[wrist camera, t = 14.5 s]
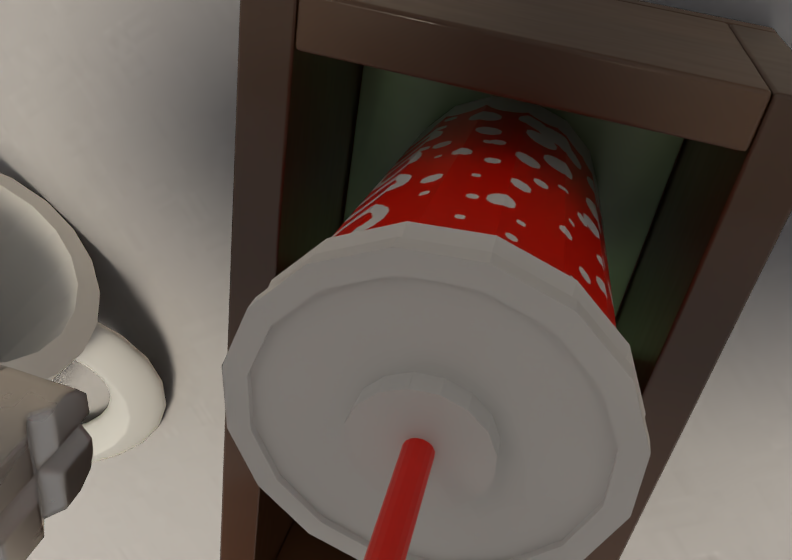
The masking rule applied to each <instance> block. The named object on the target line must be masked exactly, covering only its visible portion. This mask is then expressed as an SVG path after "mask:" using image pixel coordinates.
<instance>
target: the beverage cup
mask: <svg viewBox="0 0 792 560" xmlns="http://www.w3.org/2000/svg"><path fill="white" fill-rule="evenodd" d="M222 374H223V386H224V398H225V410H226V422H227V429H228V431H229V432H230V434H231V436H232V438H233V440H234V442H235V444H236V445H237V447H238V449H239V451H240V453H241V455H242V457H243V458H244V460H245V462H246V464H247V466H248V468H249V470H250V471H251V473H252V475H253V477H254V479H255V481H256V483H257V484H258V486H259V487H260V488H261V489H262V490H263V491H264V492H265V493H267V494H268V495H269V496H270V497H271V498H272V499H273V500H274V501H275V502H276V503H277V504H278V505H279V506H280V507H281V508H282V509H283V510H285V511H286V512H287V513H288V514H289V515H290V516H291V517H292V518H293V519H294V520H295V521H296V522H297V523H298V524H299V525H300V526H301V527H302V528H304V529H305V530H306V531H307V532H308V533H309V534H311V535H313V536H314V537H316V538H318V539H320V540H322V541H324V542H326V543H328V544H329V545H331V546H333V547H335V548H337V549H339V550H341V551H342V552H344V553H346V554H348V555H350V556H352V557H354V558H356V559H357V560H584V559H585V558H586V557H587V556H588V555H590V554H591V553H592V552H593V551H594V550H595V549H596V548H597V547H598V546H599V545H600V544H601V543H603V542H604V541H605V540H606V539H607V538H608V537H609V536H610V535H611V534H612V533H613V532H615V531H616V530H617V529H618V528H619V527H620V526H621V525H622V524H623V523H624V522H625V521H627V520H628V519H629V518H630V517H631V514H632V511H633V508H634V504H635V501H636V498H637V495H638V492H639V489H640V486H641V483H642V479H643V476H644V473H645V470H646V467H647V464H648V461H649V458H650V455H651V450H650V438H649V434H648V430H647V426H646V421H645V415H646V413H645V409H644V405H643V400H642V396H641V392H640V387H639V383H638V379H637V375H636V370H635V366H634V362H633V357H632V353H631V349H630V345H629V343H628V342H627V341H626V340H625V339H624V337H623V336H622V335H621V334H620V332H619V331H618V330H617V329H616V322H615V315H614V307H613V299H612V292H611V284H610V277H609V269H608V261H607V254H606V246H605V239H604V231H603V223H602V216H601V208H600V201H599V193H598V186H597V182H596V177H595V173H594V168H593V164H592V160H591V155H590V151H589V150H588V149H587V147H586V146H585V145H584V143H583V142H582V141H581V139H580V138H579V137H578V135H577V134H576V133H575V131H574V130H573V129H572V128H571V126H570V125H569V124H568V122H567V121H566V120H564V119H562V118H561V117H559V116H557V115H555V114H554V113H552V112H550V111H548V110H546V109H545V108H543V107H541V106H539V105H536V104H531V103H527V102H522V101H518V100H514V99H509V98H503V97H495V96H491V97H487V98H484V99H480V100H476V101H473V102H469V103H465V104H461V105H458V106H455V107H453V108H452V109H451V110H450V111H448V112H447V113H446V114H444V115H443V116H442V117H441V118H439V119H438V120H437V121H435V122H434V123H433V124H432V125H430V126H429V127H428V128H427V129H426V130H425V131H424V132H423V133H422V134H421V135H420V136H419V138H418V139H417V140H416V141H415V142H414V143H413V144H412V146H411V147H410V148H409V149H408V150H407V151H406V152H405V154H404V155H403V156H402V157H401V158H400V159H399V160H398V162H397V163H396V164H395V165H394V166H393V167H392V168H391V170H390V171H389V172H388V173H387V174H386V175H385V176H384V178H383V179H382V180H381V181H380V182H379V183H378V184H377V186H376V187H375V188H374V189H373V190H372V191H371V192H370V194H369V195H368V196H367V197H366V198H365V199H364V200H363V202H362V203H361V204H360V205H359V206H358V207H357V208H356V210H355V211H354V212H353V213H352V214H351V215H350V216H349V218H348V219H347V220H346V221H345V222H344V223H343V224H342V226H341V227H340V228H339V229H338V230H337V231H336V232H335V234H334V235H333V236H332V237H331V238H327V239H325V240H324V241H323V242H321V243H320V244H319V245H317V246H316V247H315V248H313V249H312V250H311V251H309V252H308V253H307V254H305V255H304V256H303V257H302V258H300V259H299V260H298V261H296V262H295V263H294V264H292V265H291V266H290V267H288V268H287V269H286V270H284V271H283V272H282V273H280V274H279V275H278V276H276V277H275V278H274V279H272V280H271V282H270V284H269V287H268V288H267V289H266V290H265V291H263V292H262V293H261V294H259V295H258V296H257V297H255V299H254V300H253V301H252V303H251V304H250V305H249V307H248V308H247V310H246V312H245V315H244V317H243V319H242V321H241V324H240V326H239V328H238V330H237V333H236V335H235V337H234V339H233V342H232V344H231V346H230V348H229V351H228V353H227V355H226V357H225V360H224V362H223V364H222Z"/></svg>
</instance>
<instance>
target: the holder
mask: <svg viewBox="0 0 792 560" xmlns="http://www.w3.org/2000/svg"><path fill="white" fill-rule="evenodd" d="M491 96H495V97H503V98H509V99H514V100H518V101H522V102H527V103H531V104H536V105H539V106H541V107H543V108H545V109H546V110H548V111H550V112H552V113H554V114H555V115H557V116H559V117H561V118H562V119H564V120H566V121H567V122H568V124H569V125H570V126H571V128H572V129H573V130H574V131H575V133H576V134H577V135H578V137H579V138H580V139H581V141H582V142H583V143H584V145H585V146H586V147H587V149H588V150H589V151H590V155H591V160H592V164H593V168H594V173H595V177H596V182H597V186H598V193H599V201H600V208H601V216H602V223H603V231H604V239H605V246H606V254H607V261H608V269H609V277H610V284H611V292H612V299H613V307H614V315H615V322H616V329H617V330H618V331H619V332H620V334H621V335H622V336H623V337H624V339H625V340H626V341H627V342H628V343H629V345H630V349H631V353H632V357H633V362H634V366H635V370H636V375H637V379H638V383H639V387H640V392H641V396H642V400H643V405H644V409H645V413H646V415H645V421H646V426H647V430H648V434H649V438H650V450H651V455H650V458H649V461H648V464H647V467H646V470H645V473H644V476H643V479H642V483H641V486H640V489H639V492H638V495H637V498H636V501H635V504H634V508H633V511H632V514H631V517H630V518H629V519H628V520H627V521H625V522H624V523H623V524H622V525H621V526H620V527H619V528H618V529H617V530H616V531H615V532H613V533H612V534H611V535H610V536H609V537H608V538H607V539H606V540H605V541H604V542H603V543H601V544H600V545H599V546H598V547H597V548H596V549H595V550H594V551H593V552H592V553H591V554H590V555H588V556H587V557H586V558H585V559H584V560H619V559H620V556H621V554H622V552H623V550H624V548H625V546H626V544H627V542H628V540H629V538H630V536H631V534H632V532H633V530H634V528H635V526H636V524H637V522H638V520H639V518H640V516H641V514H642V512H643V510H644V508H645V506H646V504H647V502H648V500H649V498H650V496H651V494H652V492H653V490H654V488H655V486H656V484H657V482H658V480H659V478H660V476H661V474H662V472H663V470H664V468H665V466H666V464H667V461H668V459H669V457H670V455H671V453H672V451H673V449H674V447H675V445H676V443H677V441H678V439H679V437H680V435H681V433H682V431H683V429H684V427H685V425H686V423H687V421H688V419H689V417H690V415H691V413H692V411H693V409H694V407H695V405H696V403H697V401H698V399H699V397H700V395H701V393H702V391H703V389H704V387H705V385H706V383H707V381H708V379H709V377H710V375H711V373H712V371H713V369H714V366H715V364H716V362H717V360H718V358H719V356H720V354H721V352H722V350H723V348H724V346H725V344H726V342H727V340H728V338H729V336H730V334H731V332H732V330H733V328H734V326H735V324H736V322H737V320H738V318H739V316H740V314H741V312H742V310H743V308H744V306H745V304H746V302H747V300H748V298H749V296H750V294H751V292H752V290H753V288H754V286H755V284H756V282H757V280H758V278H759V276H760V274H761V272H762V269H763V267H764V265H765V263H766V261H767V259H768V257H769V255H770V253H771V251H772V249H773V247H774V245H775V243H776V241H777V239H778V237H779V235H780V233H781V231H782V229H783V227H784V225H785V223H786V221H787V219H788V217H789V215H790V213H791V211H792V50H791V49H790V48H789V47H788V46H787V44H786V43H785V42H784V41H783V40H782V39H781V37H780V36H779V35H778V34H777V32H776V31H775V30H774V29H773V28H770V27H765V26H760V25H756V24H751V23H746V22H741V21H736V20H731V19H727V18H722V17H717V16H712V15H707V14H702V13H697V12H693V11H688V10H683V9H678V8H673V7H668V6H664V5H659V4H654V3H649V2H644V1H639V0H240V23H239V51H238V78H237V106H236V134H235V161H234V189H233V217H232V244H231V272H230V299H229V327H228V351H229V348H230V346H231V344H232V342H233V339H234V337H235V335H236V333H237V330H238V328H239V326H240V324H241V321H242V319H243V317H244V315H245V312H246V310H247V308H248V307H249V305H250V304H251V303H252V301H253V300H254V299H255V297H257V296H258V295H259V294H261V293H262V292H263V291H265V290H266V289H267V288H268V287H269V284H270V282H271V280H272V279H274V278H275V277H276V276H278V275H279V274H280V273H282V272H283V271H284V270H286V269H287V268H288V267H290V266H291V265H292V264H294V263H295V262H296V261H298V260H299V259H300V258H302V257H303V256H304V255H305V254H307V253H308V252H309V251H311V250H312V249H313V248H315V247H316V246H317V245H319V244H320V243H321V242H323V241H324V240H325V239H327V238H331V237H332V236H333V235H334V234H335V232H336V231H337V230H338V229H339V228H340V227H341V226H342V224H343V223H344V222H345V221H346V220H347V219H348V218H349V216H350V215H351V214H352V213H353V212H354V211H355V210H356V208H357V207H358V206H359V205H360V204H361V203H362V202H363V200H364V199H365V198H366V197H367V196H368V195H369V194H370V192H371V191H372V190H373V189H374V188H375V187H376V186H377V184H378V183H379V182H380V181H381V180H382V179H383V178H384V176H385V175H386V174H387V173H388V172H389V171H390V170H391V168H392V167H393V166H394V165H395V164H396V163H397V162H398V160H399V159H400V158H401V157H402V156H403V155H404V154H405V152H406V151H407V150H408V149H409V148H410V147H411V146H412V144H413V143H414V142H415V141H416V140H417V139H418V138H419V136H420V135H421V134H422V133H423V132H424V131H425V130H426V129H427V128H428V127H429V126H430V125H432V124H433V123H434V122H435V121H437V120H438V119H439V118H441V117H442V116H443V115H444V114H446V113H447V112H448V111H450V110H451V109H452V108H453V107H455V106H458V105H461V104H465V103H469V102H473V101H476V100H480V99H484V98H487V97H491ZM220 560H357V559H356V558H354V557H352V556H350V555H348V554H346V553H344V552H342V551H341V550H339V549H337V548H335V547H333V546H331V545H329V544H328V543H326V542H324V541H322V540H320V539H318V538H316V537H314V536H313V535H311V534H309V533H308V532H307V531H306V530H305V529H304V528H302V527H301V526H300V525H299V524H298V523H297V522H296V521H295V520H294V519H293V518H292V517H291V516H290V515H289V514H288V513H287V512H286V511H285V510H283V509H282V508H281V507H280V506H279V505H278V504H277V503H276V502H275V501H274V500H273V499H272V498H271V497H270V496H269V495H268V494H267V493H265V492H264V491H263V490H262V489H261V488H260V487H259V486H258V484H257V483H256V481H255V479H254V477H253V475H252V473H251V471H250V470H249V468H248V466H247V464H246V462H245V460H244V458H243V457H242V455H241V453H240V451H239V449H238V447H237V445H236V444H235V442H234V440H233V438H232V436H231V434H230V432H229V431H228V429H227V422H226V410H225V438H224V465H223V493H222V521H221V548H220Z"/></svg>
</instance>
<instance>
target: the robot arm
mask: <svg viewBox="0 0 792 560" xmlns="http://www.w3.org/2000/svg"><path fill="white" fill-rule="evenodd" d="M88 414H89V407H88V401H87V395H86V393H84V392H82V391H80V390H77V389H74V388H71V387H68V386H65V385H62V384H59V383H56V382H53V381H50V380H47V379H44V378H41V377H38V376H35V375H32V374H29V373H26V372H23V371H20V370H17V369H14V368H11V367H6V366H3V365H0V560H26V559H27V557H28V556H29V555H30V554H31V552H32V551H33V550H34V549H35V547H36V546H37V545H38V544H39V543H40V541H41V540H42V539H43V538H44V519H45V518H47V517H49V516H52V515H54V514H56V513H58V512H60V511H63V510H65V509H67V507H68V506H69V505H70V504H71V502H72V501H73V500H74V498H75V497H76V496H77V494H78V493H79V492H80V490H81V488H82V486H83V484H84V482H85V480H86V477H87V475H88V473H89V471H90V469H91V463H92V457H93V443H92V437H91V436H90V435H89V433H88V432H87V431H86V429H85V428H84V427H83V426H82V424H81V422H82V421H83V420H84V418H85V417H86V416H87V415H88Z"/></svg>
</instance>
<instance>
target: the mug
mask: <svg viewBox="0 0 792 560" xmlns="http://www.w3.org/2000/svg"><path fill="white" fill-rule="evenodd" d="M99 299H100V290H99V286H98V282H97V278H96V275H95V271H94V267H93V263H92V260H91V258H90V256H89V255H88V253H87V251H86V249H85V248H84V246H83V244H82V243H81V241H80V239H79V238H78V236H77V234H76V232H75V231H74V229H73V228H72V227H71V226H70V225H69V224H68V223H67V222H66V221H65V220H64V219H63V218H62V217H61V216H60V215H59V214H58V213H57V212H56V211H55V209H54V208H53V207H52V206H51V205H50V204H49V203H48V202H47V201H45V200H44V199H42V198H41V197H39V196H38V195H37V194H35V193H34V192H32V191H31V190H29V189H28V188H26V187H25V186H23V185H22V184H20V183H19V182H17V181H16V180H14V179H13V178H11V177H8V176H6V175H3V174H1V173H0V365H3V366H6V367H11V368H14V369H17V370H20V371H23V372H26V373H29V374H32V375H35V376H38V377H41V378H44V379H47V380H50V381H51V380H52V379H54V378H55V377H56V376H57V375H58V374H59V373H60V372H61V371H62V370H64V369H65V368H66V367H67V366H68V365H69V364H70V363H71V362H72V361H74V360H75V361H77V362H79V363H81V364H83V365H85V366H87V367H88V368H89V369H90V370H92V371H93V372H94V373H95V374H97V375H98V376H99V377H100V378H101V379H102V380H103V382H104V383H105V384H106V386H107V387H108V390H109V394H110V400H109V404H108V407H107V408H106V409H105V410H104V412H103V413H102V414H101V415H100V416H98V417H96V418H95V419H93V420H91V421H89V422H88V423H84V424H82V426H83V427H84V428H85V429H86V431H87V432H88V433H89V435H90V436H91V437H92V443H93V457H92V462H96V461H100V460H103V459H107V458H111V457H114V456H117V455H120V454H122V453H124V452H126V451H127V450H129V449H131V448H133V447H135V446H137V445H139V444H141V443H142V442H144V441H145V440H146V438H147V437H148V436H149V435H150V434H151V433H152V432H153V431H154V430H155V429H156V428H157V427H158V426H159V424H160V422H161V419H162V416H163V413H164V410H165V407H166V400H165V394H164V388H163V382H162V380H161V378H160V377H159V375H158V374H157V372H156V371H155V369H154V367H153V366H152V364H151V363H150V361H149V360H148V358H147V357H146V356H145V355H144V354H142V353H141V352H140V351H139V350H138V349H137V348H136V347H134V346H133V345H132V344H131V343H130V342H129V341H128V340H126V339H125V338H124V337H123V336H122V335H120V334H119V333H117V332H115V331H113V330H111V329H110V328H108V327H106V326H104V325H103V324H101V323H99V322H97V321H98V310H99Z"/></svg>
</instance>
